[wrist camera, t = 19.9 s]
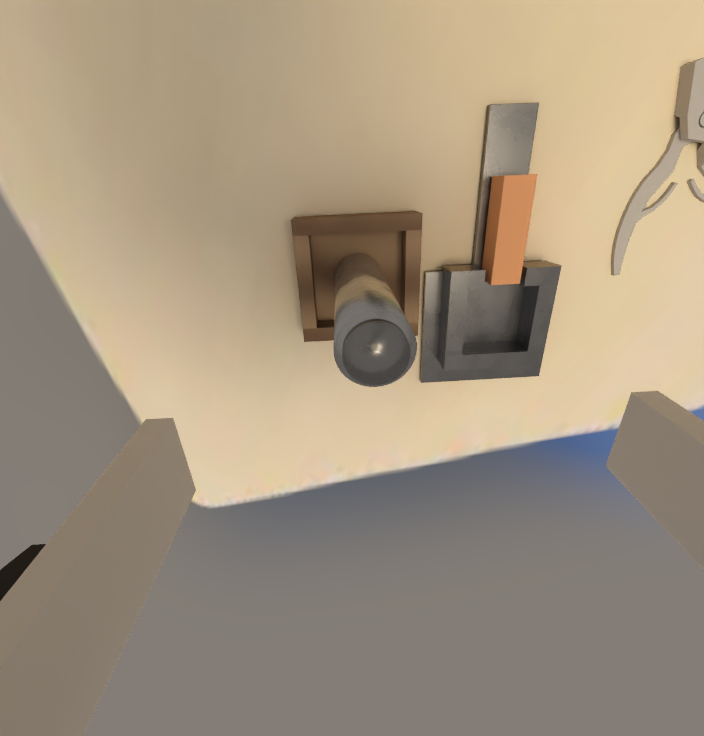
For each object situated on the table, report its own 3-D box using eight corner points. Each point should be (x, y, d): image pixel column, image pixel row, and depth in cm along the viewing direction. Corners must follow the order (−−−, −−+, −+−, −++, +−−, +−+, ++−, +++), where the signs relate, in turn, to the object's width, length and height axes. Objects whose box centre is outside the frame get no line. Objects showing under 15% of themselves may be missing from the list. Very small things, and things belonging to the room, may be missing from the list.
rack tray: (294, 216, 31) (291, 219, 28) (415, 210, 31) (422, 213, 28) (306, 330, 35) (304, 341, 32) (411, 324, 35) (417, 335, 33)
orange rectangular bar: (492, 176, 29) (504, 175, 27) (522, 174, 29) (537, 174, 27) (480, 278, 33) (490, 285, 30) (507, 277, 33) (519, 283, 30)
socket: (431, 108, 28) (442, 100, 25) (590, 101, 28) (618, 92, 25) (419, 379, 38) (426, 395, 35) (535, 373, 38) (551, 388, 35)
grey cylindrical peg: (333, 254, 31) (330, 316, 16) (380, 251, 31) (420, 312, 16) (336, 300, 33) (336, 394, 18) (381, 298, 33) (417, 390, 18)
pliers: (617, 278, 33) (649, 68, 26) (606, 274, 34) (633, 74, 27) (732, 258, 32) (794, 39, 26) (715, 255, 34) (770, 47, 27)
